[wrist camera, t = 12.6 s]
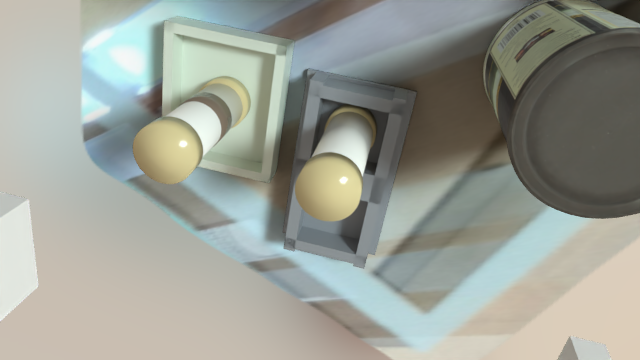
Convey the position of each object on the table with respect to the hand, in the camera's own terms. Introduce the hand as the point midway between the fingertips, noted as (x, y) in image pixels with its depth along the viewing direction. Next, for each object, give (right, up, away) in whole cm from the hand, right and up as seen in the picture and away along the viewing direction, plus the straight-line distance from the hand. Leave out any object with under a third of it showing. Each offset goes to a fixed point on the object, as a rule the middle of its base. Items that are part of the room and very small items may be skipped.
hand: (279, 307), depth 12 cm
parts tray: (-7, +10, +32) cm, 35 cm away
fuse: (+4, +7, +31) cm, 32 cm away
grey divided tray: (+3, +4, +33) cm, 34 cm away
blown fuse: (-7, +10, +32) cm, 34 cm away
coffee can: (+19, +12, +27) cm, 34 cm away
